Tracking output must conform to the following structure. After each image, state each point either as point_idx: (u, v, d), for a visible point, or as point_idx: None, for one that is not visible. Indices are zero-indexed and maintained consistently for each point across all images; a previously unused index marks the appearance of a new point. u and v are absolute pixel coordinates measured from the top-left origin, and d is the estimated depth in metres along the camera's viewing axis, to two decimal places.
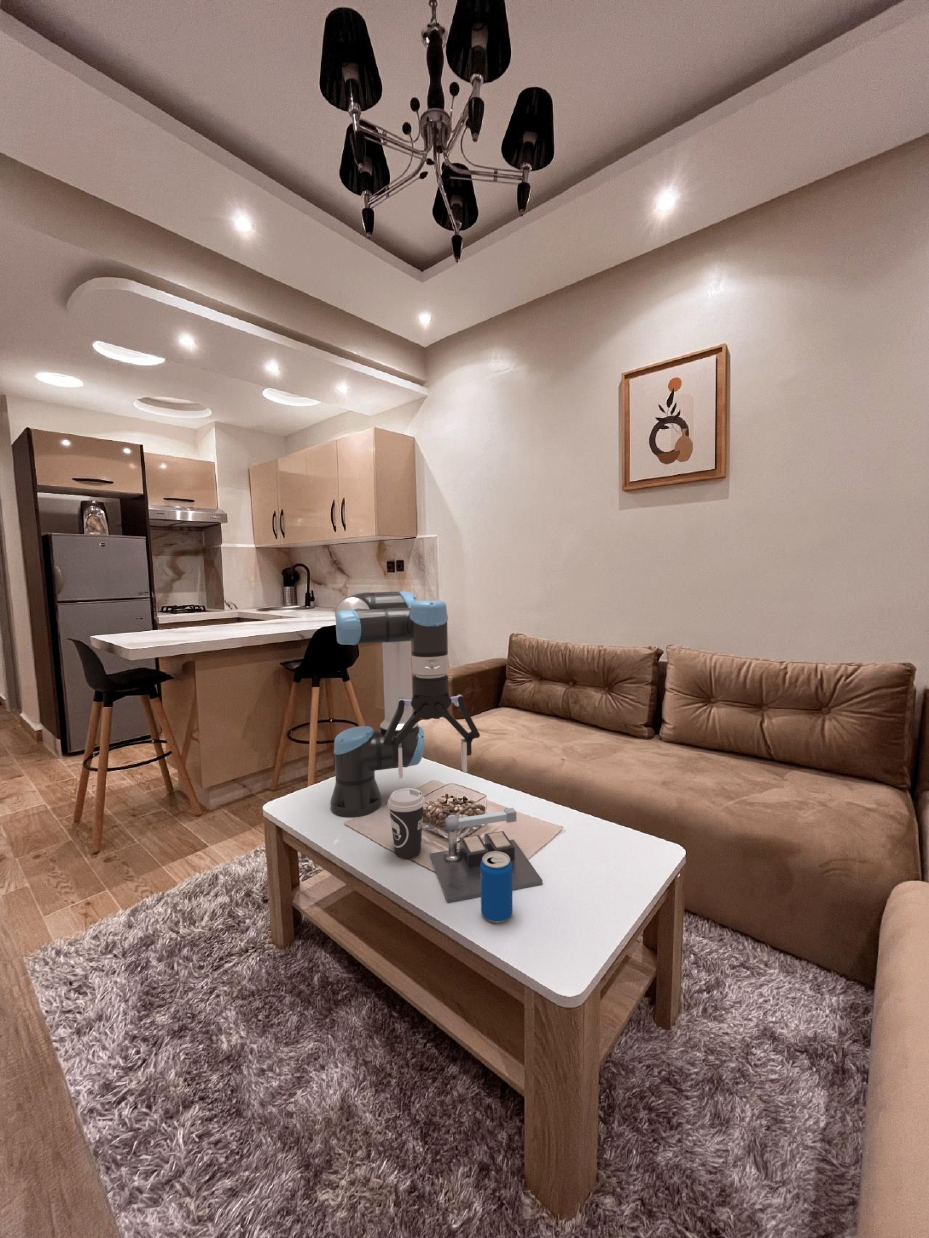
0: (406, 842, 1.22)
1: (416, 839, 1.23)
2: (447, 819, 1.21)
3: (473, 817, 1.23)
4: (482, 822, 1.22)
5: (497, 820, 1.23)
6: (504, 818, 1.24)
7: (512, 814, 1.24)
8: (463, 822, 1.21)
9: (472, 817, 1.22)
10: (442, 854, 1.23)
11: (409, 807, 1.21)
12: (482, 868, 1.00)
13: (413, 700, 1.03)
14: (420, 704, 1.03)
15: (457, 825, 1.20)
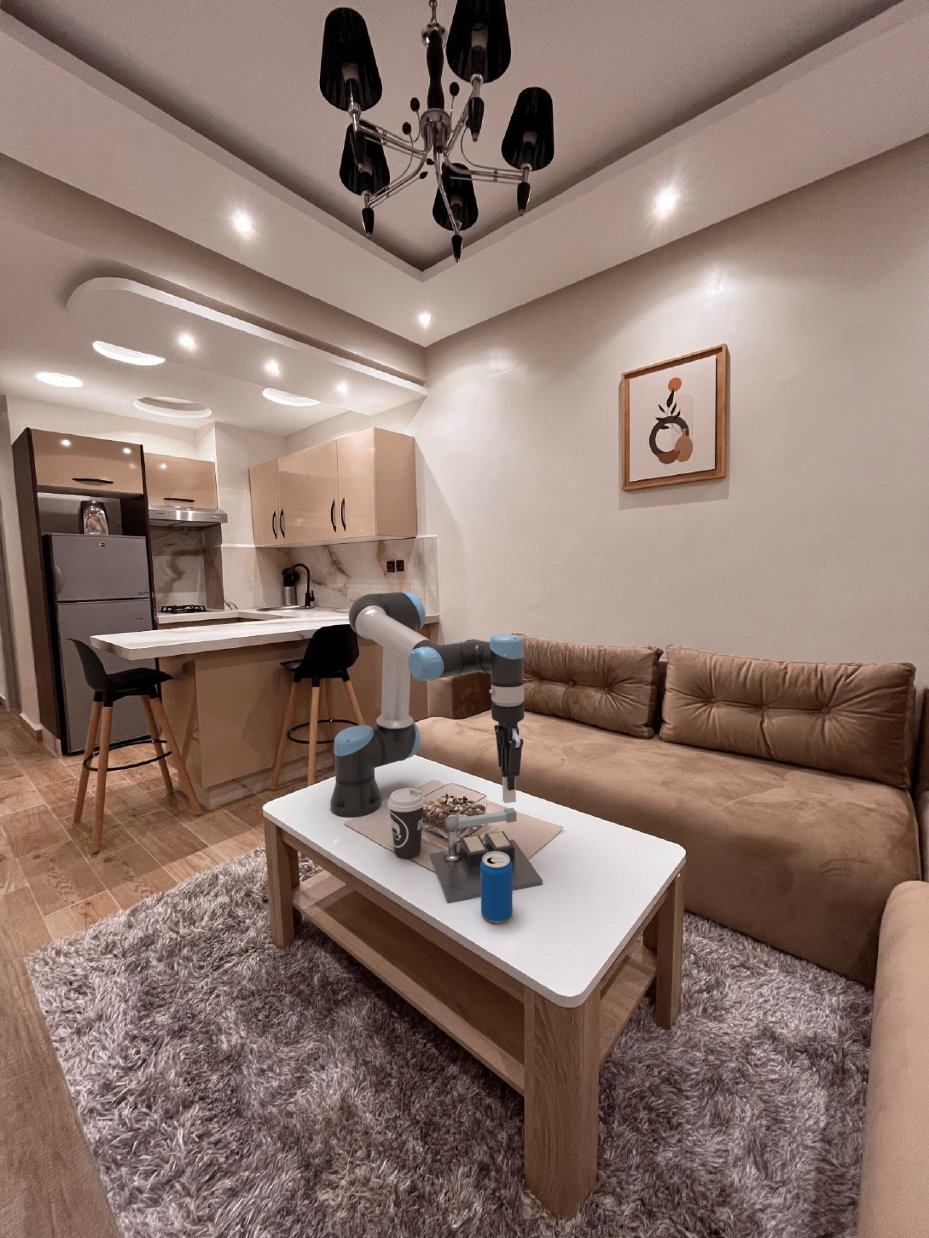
0: (406, 842, 1.22)
1: (416, 839, 1.23)
2: (447, 819, 1.21)
3: (473, 817, 1.23)
4: (482, 822, 1.22)
5: (497, 820, 1.23)
6: (504, 818, 1.24)
7: (512, 814, 1.24)
8: (463, 822, 1.21)
9: (472, 817, 1.22)
10: (442, 854, 1.23)
11: (409, 807, 1.21)
12: (482, 868, 1.00)
13: None
14: (500, 722, 1.17)
15: (457, 825, 1.20)
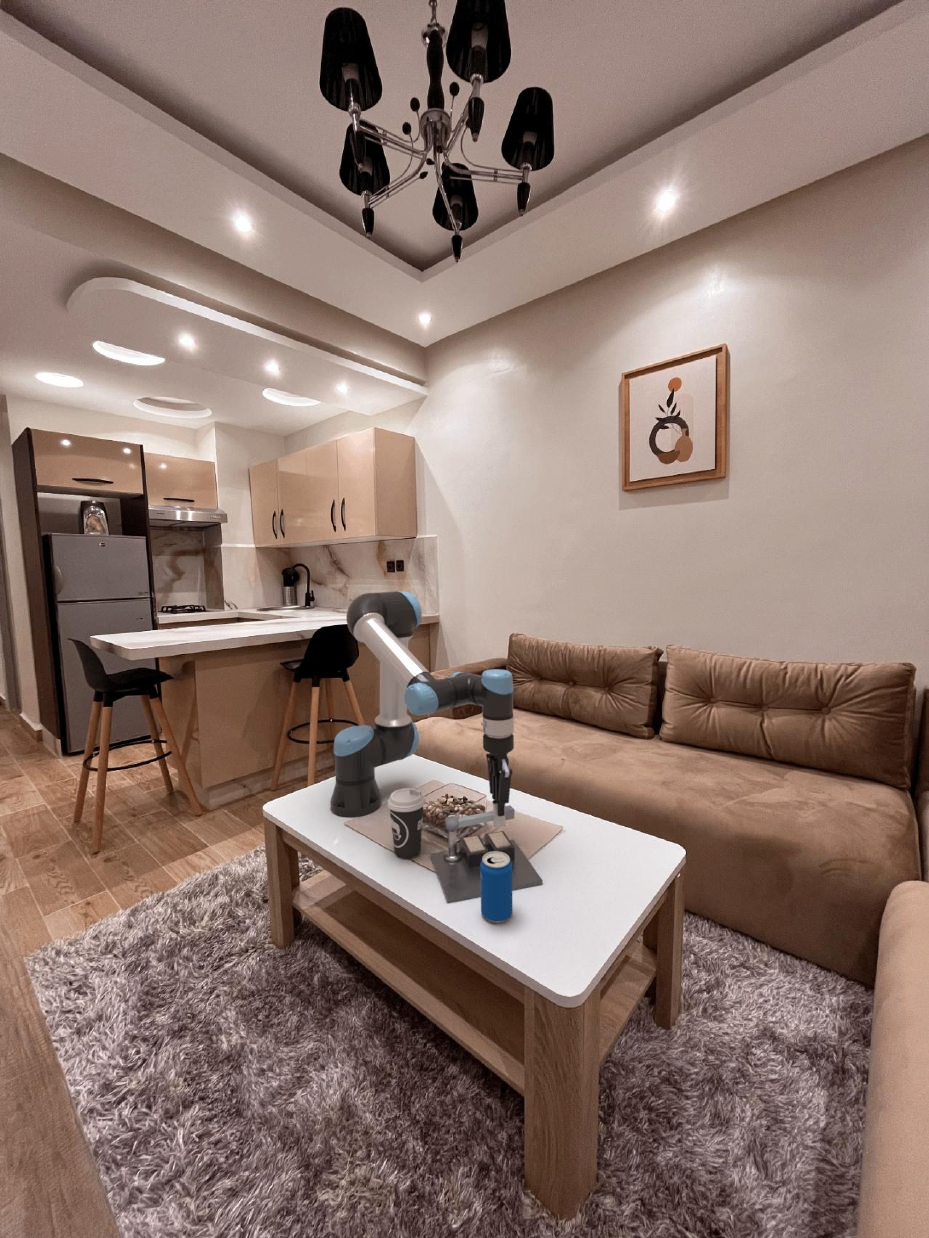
0: (406, 842, 1.22)
1: (416, 839, 1.23)
2: (447, 819, 1.21)
3: (472, 816, 1.23)
4: (481, 821, 1.23)
5: None
6: None
7: (510, 811, 1.25)
8: (463, 822, 1.21)
9: (472, 817, 1.23)
10: (442, 854, 1.23)
11: (409, 807, 1.21)
12: (482, 868, 1.00)
13: None
14: None
15: (457, 825, 1.20)
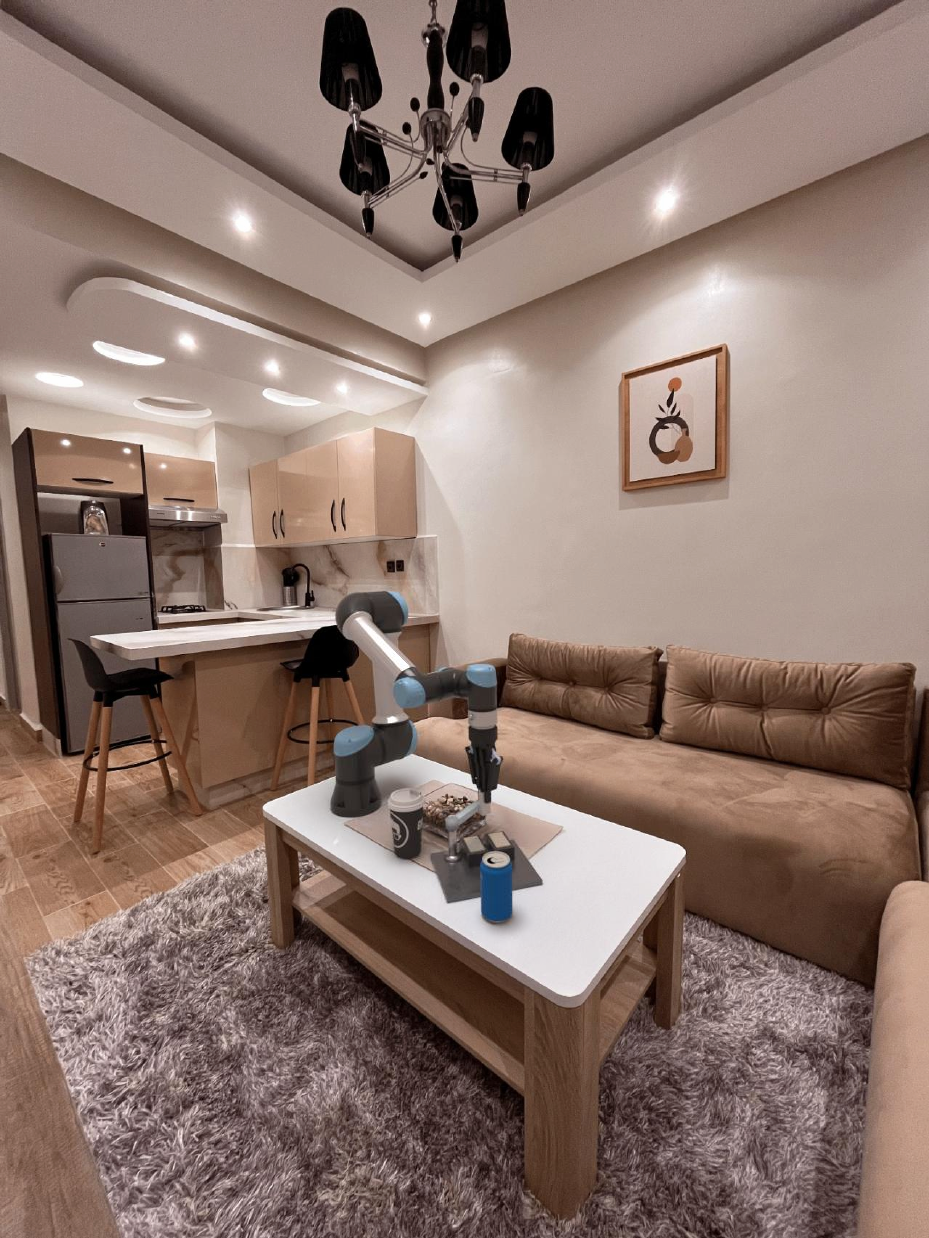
0: (406, 842, 1.22)
1: (416, 839, 1.23)
2: (448, 821, 1.20)
3: (464, 811, 1.26)
4: (472, 813, 1.27)
5: None
6: None
7: None
8: (461, 819, 1.23)
9: (464, 812, 1.25)
10: (442, 854, 1.23)
11: (409, 807, 1.21)
12: (482, 868, 1.00)
13: None
14: (474, 744, 1.30)
15: (458, 823, 1.21)
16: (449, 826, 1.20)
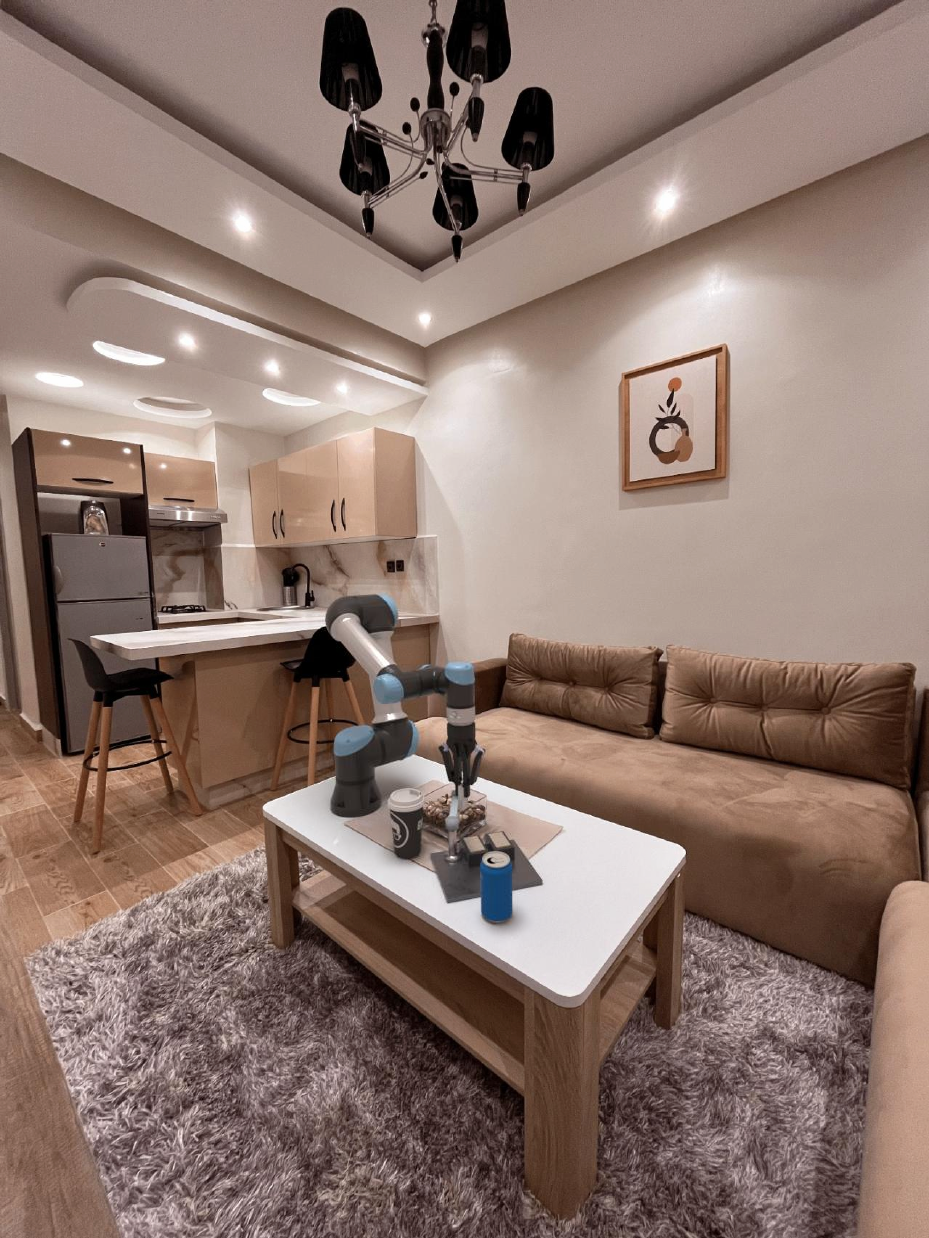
0: (406, 842, 1.22)
1: (416, 839, 1.23)
2: (450, 821, 1.20)
3: (453, 810, 1.27)
4: (457, 810, 1.29)
5: (458, 804, 1.32)
6: None
7: None
8: None
9: (453, 810, 1.26)
10: (442, 854, 1.23)
11: (409, 807, 1.21)
12: (482, 868, 1.00)
13: (446, 741, 1.33)
14: (451, 742, 1.32)
15: None
16: (452, 826, 1.20)
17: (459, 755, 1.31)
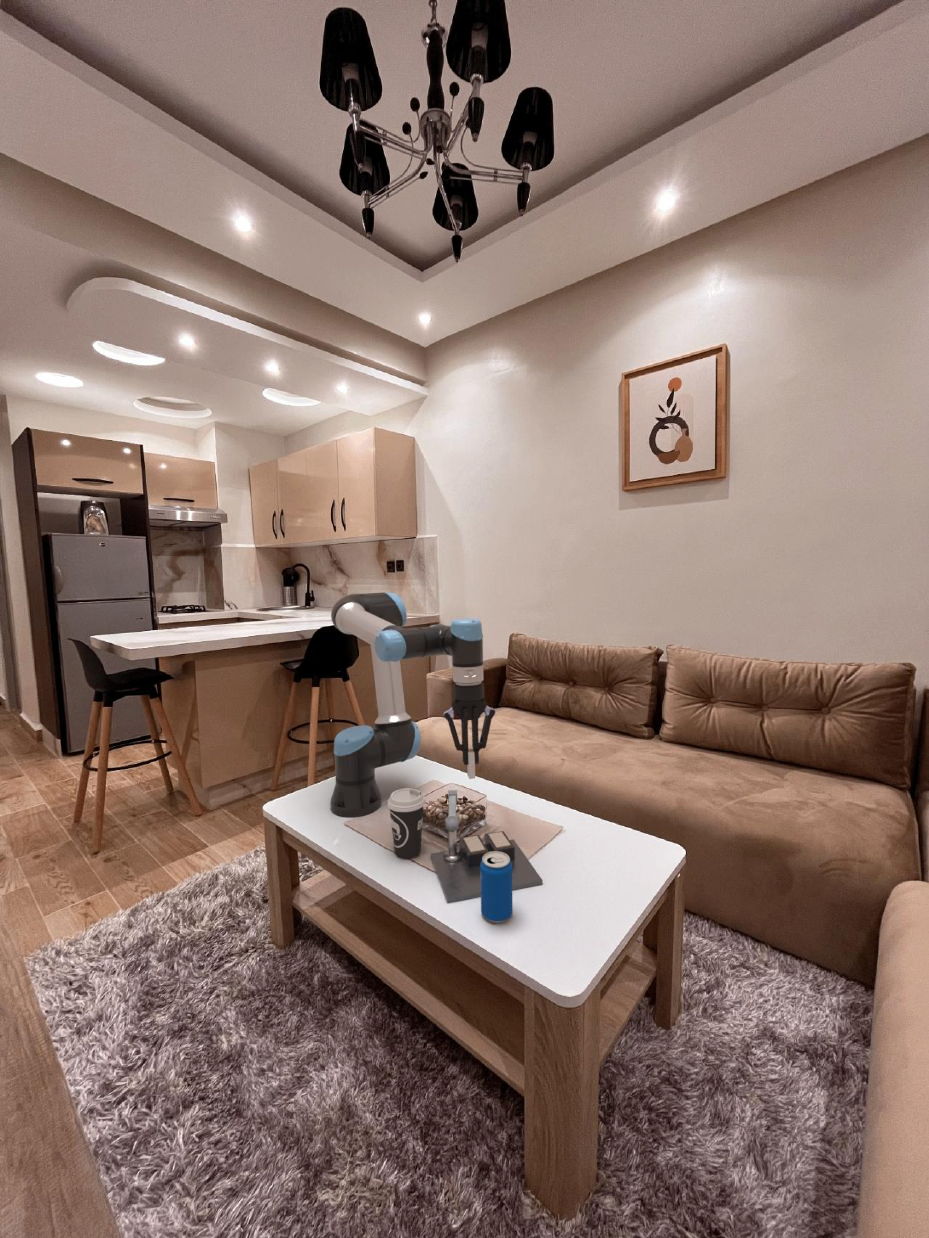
0: (406, 842, 1.22)
1: (416, 839, 1.23)
2: (451, 821, 1.20)
3: (451, 810, 1.27)
4: None
5: None
6: (456, 799, 1.34)
7: None
8: (455, 817, 1.24)
9: (452, 810, 1.26)
10: (442, 854, 1.23)
11: (409, 807, 1.21)
12: (482, 868, 1.00)
13: (453, 707, 1.21)
14: (459, 706, 1.21)
15: None
16: (453, 826, 1.20)
17: (469, 719, 1.21)
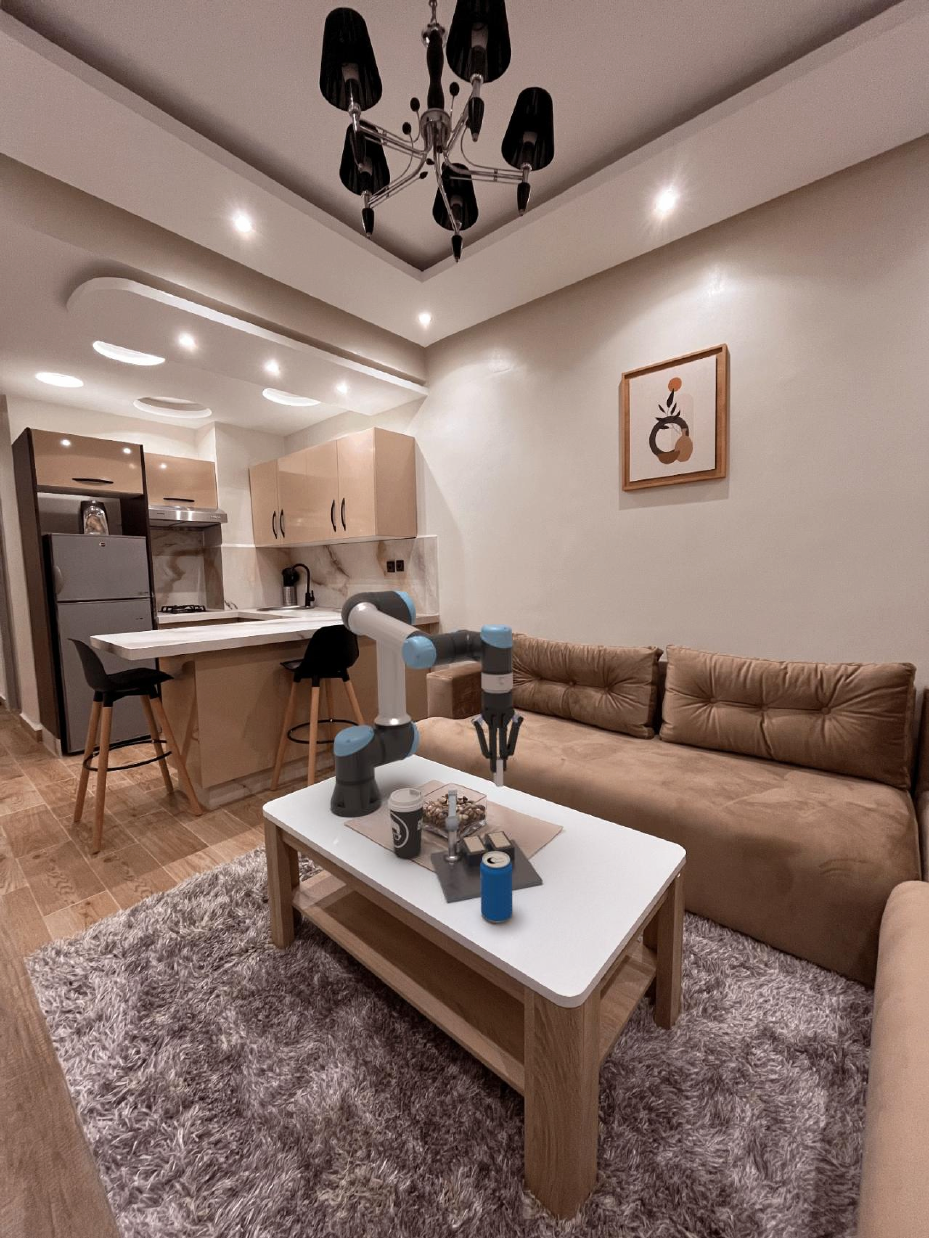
0: (406, 842, 1.22)
1: (416, 839, 1.23)
2: (451, 821, 1.20)
3: (451, 810, 1.27)
4: None
5: None
6: (456, 799, 1.34)
7: None
8: (455, 817, 1.24)
9: (452, 810, 1.26)
10: (442, 854, 1.23)
11: (409, 807, 1.21)
12: (482, 868, 1.00)
13: (482, 715, 1.18)
14: (489, 713, 1.19)
15: None
16: (453, 826, 1.20)
17: (498, 726, 1.20)
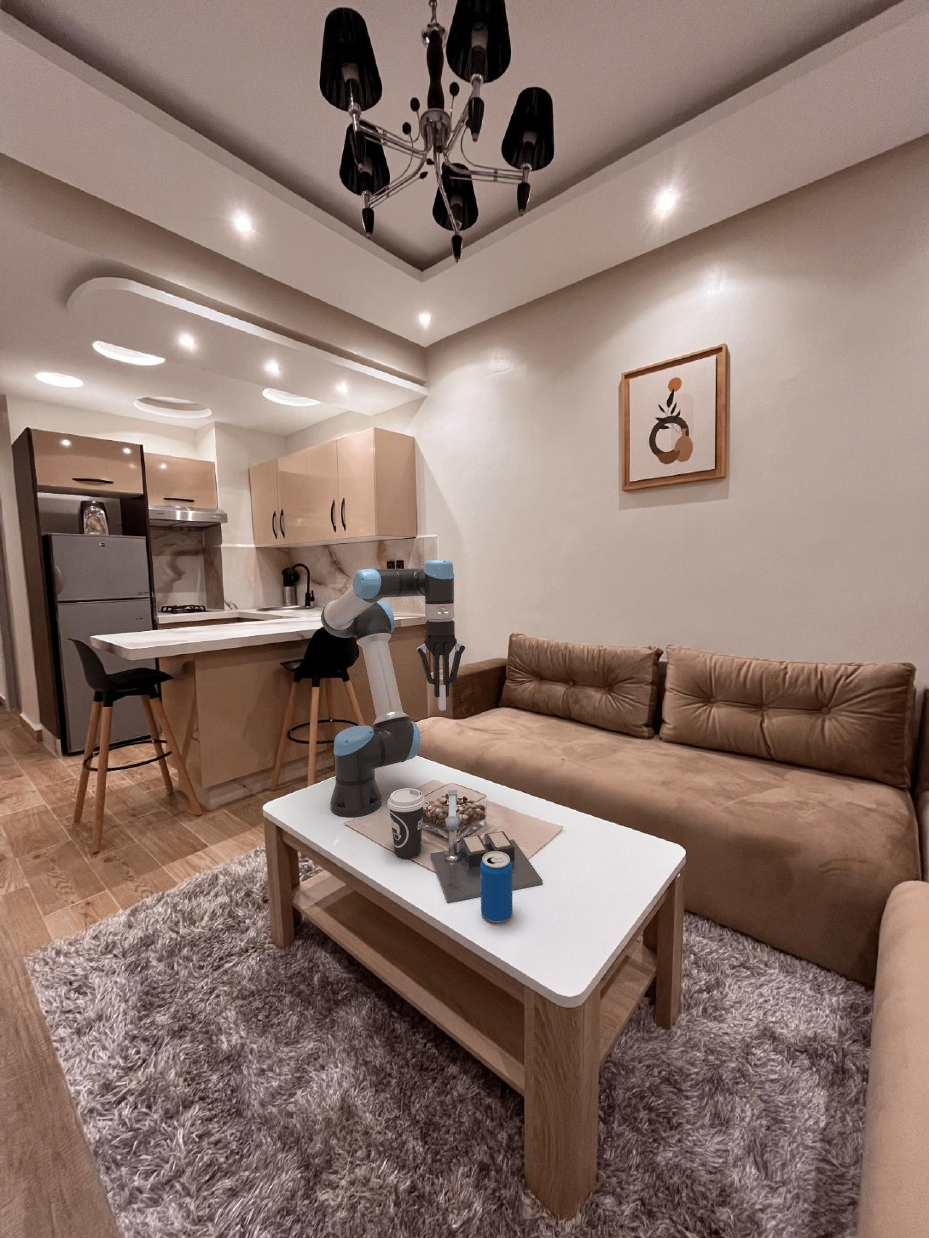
0: (406, 842, 1.22)
1: (416, 839, 1.23)
2: (451, 821, 1.20)
3: (451, 810, 1.27)
4: None
5: None
6: (456, 799, 1.34)
7: None
8: (455, 817, 1.24)
9: (452, 810, 1.26)
10: (442, 854, 1.23)
11: (409, 807, 1.21)
12: (482, 868, 1.00)
13: (425, 642, 1.28)
14: (432, 641, 1.28)
15: None
16: (453, 826, 1.20)
17: (441, 654, 1.29)
